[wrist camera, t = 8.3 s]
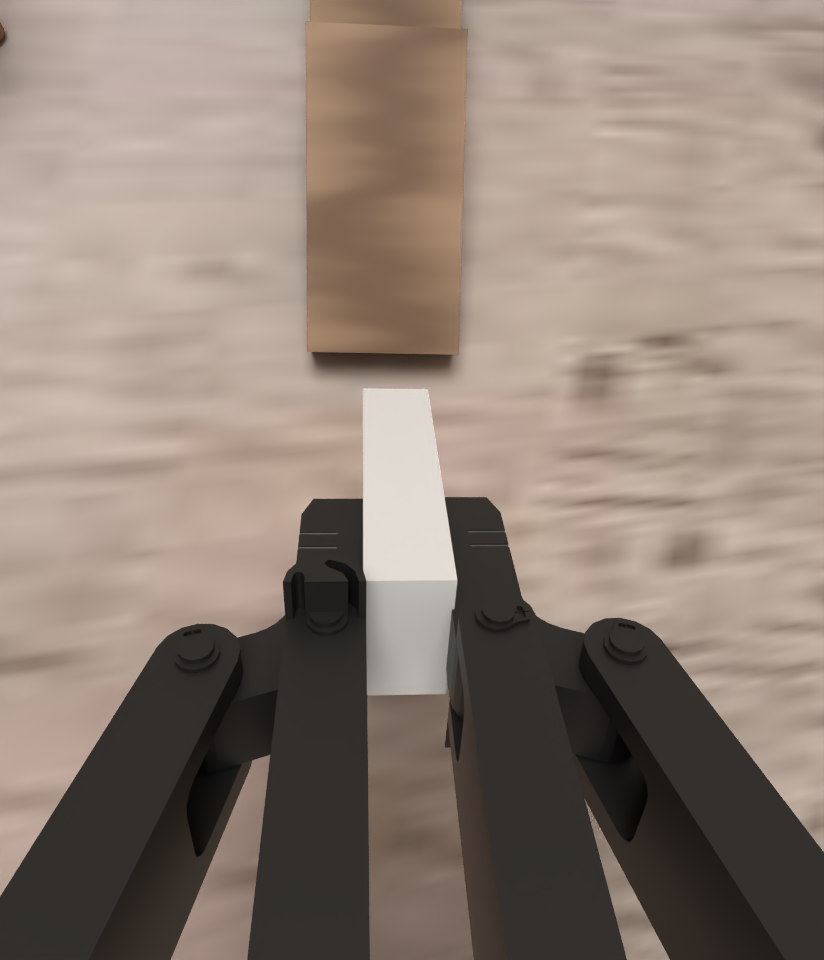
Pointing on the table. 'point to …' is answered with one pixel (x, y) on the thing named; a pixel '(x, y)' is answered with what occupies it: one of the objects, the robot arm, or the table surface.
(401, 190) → the domino
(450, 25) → the domino
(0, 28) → the wooden block
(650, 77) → the table surface
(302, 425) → the table surface
